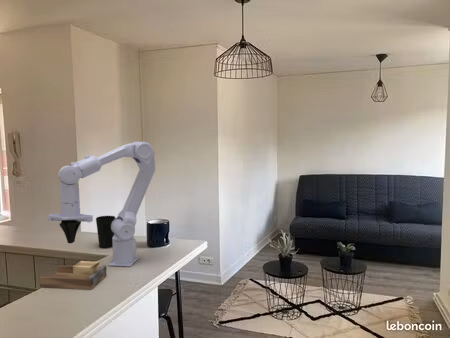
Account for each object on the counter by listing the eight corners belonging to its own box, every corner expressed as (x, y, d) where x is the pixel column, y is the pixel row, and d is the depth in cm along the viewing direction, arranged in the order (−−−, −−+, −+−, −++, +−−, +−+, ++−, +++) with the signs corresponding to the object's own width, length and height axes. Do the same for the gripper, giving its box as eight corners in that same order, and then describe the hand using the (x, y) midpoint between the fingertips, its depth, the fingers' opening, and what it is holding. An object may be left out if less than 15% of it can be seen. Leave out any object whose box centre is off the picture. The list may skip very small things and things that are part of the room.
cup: (94, 245, 153) (93, 217, 152) (112, 242, 158) (111, 214, 157) (100, 250, 147) (99, 220, 146) (119, 247, 152) (118, 218, 151)
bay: (59, 273, 123) (59, 263, 122) (106, 275, 121) (106, 265, 121) (40, 287, 112) (39, 276, 111) (91, 289, 110) (90, 278, 110)
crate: (81, 274, 119) (81, 260, 118) (99, 275, 118) (99, 261, 118) (73, 281, 114) (72, 266, 113) (92, 282, 113) (91, 267, 113)
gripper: (41, 203, 119) (43, 245, 121) (85, 205, 118) (86, 246, 119) (54, 200, 126) (55, 239, 127) (95, 201, 125) (96, 240, 126)
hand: (71, 242), depth 124 cm, fingers closed
